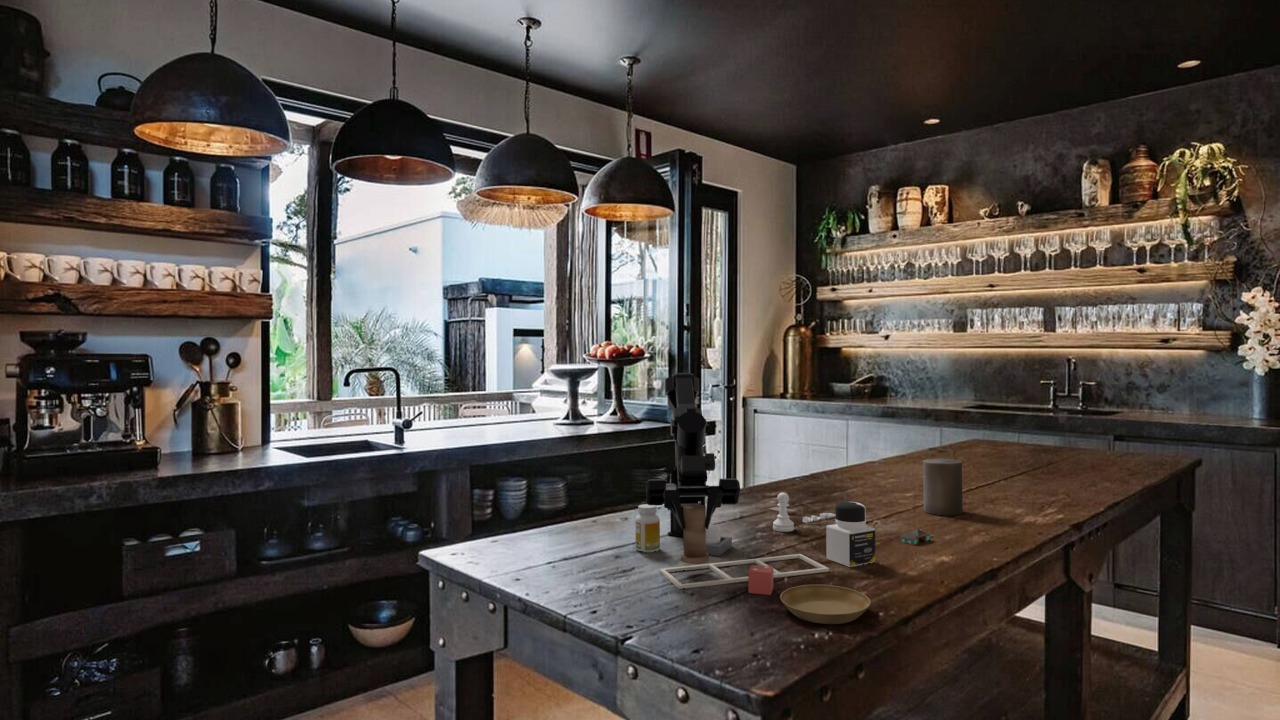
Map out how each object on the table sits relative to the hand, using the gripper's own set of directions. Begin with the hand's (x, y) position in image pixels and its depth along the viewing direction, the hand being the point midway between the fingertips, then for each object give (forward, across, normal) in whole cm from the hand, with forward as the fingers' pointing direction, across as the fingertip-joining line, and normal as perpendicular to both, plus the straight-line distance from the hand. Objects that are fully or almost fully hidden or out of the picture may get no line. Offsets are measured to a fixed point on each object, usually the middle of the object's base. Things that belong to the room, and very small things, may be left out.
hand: (695, 528), depth 146 cm
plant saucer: (+22, +20, -8) cm, 30 cm away
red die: (+13, +11, 0) cm, 17 cm away
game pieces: (-22, +40, +36) cm, 58 cm away
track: (+5, +10, +8) cm, 14 cm away
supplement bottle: (-7, -9, +20) cm, 23 cm away
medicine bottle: (0, +33, +13) cm, 35 cm away
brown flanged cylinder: (+4, 0, +6) cm, 7 cm away
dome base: (-7, +4, +20) cm, 22 cm away
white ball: (-7, +4, +20) cm, 21 cm away
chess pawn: (-19, +24, +32) cm, 44 cm away
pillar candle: (-31, +70, +44) cm, 88 cm away
